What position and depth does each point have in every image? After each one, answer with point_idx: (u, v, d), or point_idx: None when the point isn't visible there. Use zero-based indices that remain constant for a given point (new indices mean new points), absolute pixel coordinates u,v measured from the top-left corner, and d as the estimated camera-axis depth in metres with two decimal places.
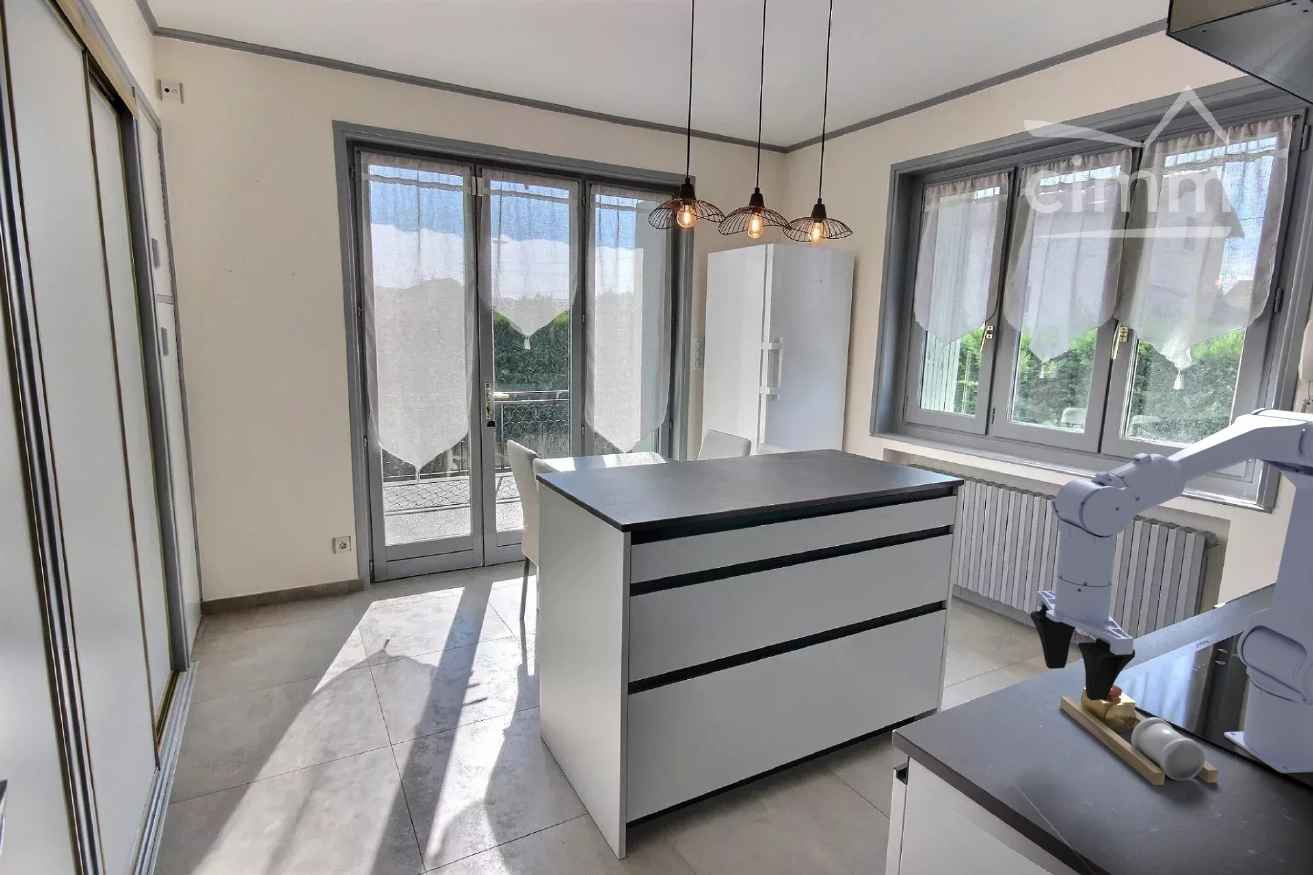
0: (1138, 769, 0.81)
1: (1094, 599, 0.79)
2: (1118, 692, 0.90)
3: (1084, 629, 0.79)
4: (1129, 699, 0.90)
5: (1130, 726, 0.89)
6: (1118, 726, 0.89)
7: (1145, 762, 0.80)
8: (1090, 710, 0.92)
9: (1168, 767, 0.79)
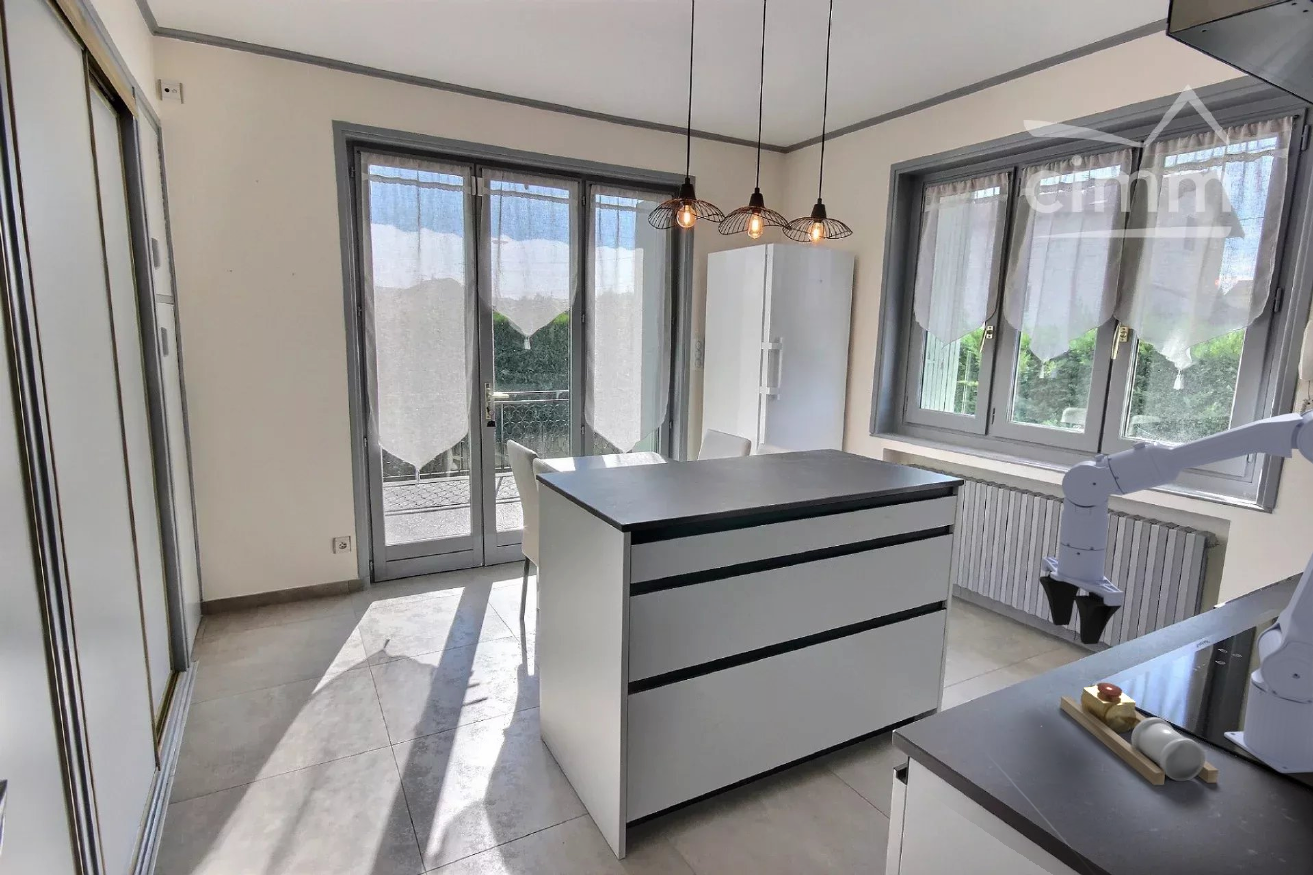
0: (1138, 769, 0.81)
1: (1090, 560, 0.93)
2: (1118, 692, 0.90)
3: (1082, 586, 0.93)
4: (1129, 699, 0.90)
5: (1130, 726, 0.89)
6: (1118, 726, 0.89)
7: (1145, 762, 0.80)
8: (1090, 710, 0.92)
9: (1168, 767, 0.79)
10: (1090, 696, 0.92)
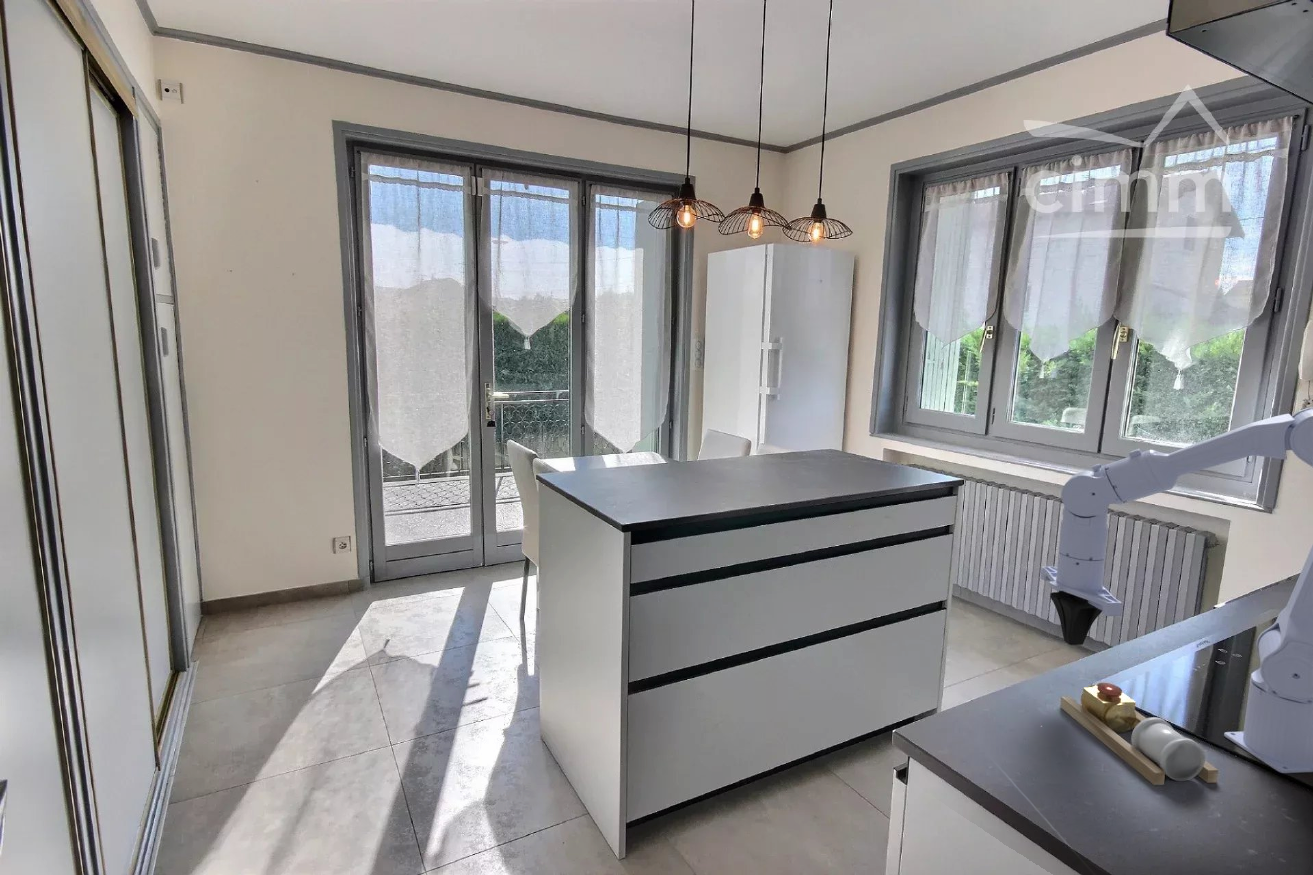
0: (1138, 769, 0.81)
1: (1089, 571, 0.94)
2: (1118, 692, 0.90)
3: (1081, 596, 0.93)
4: (1129, 699, 0.90)
5: (1130, 726, 0.89)
6: (1118, 726, 0.89)
7: (1145, 762, 0.80)
8: (1090, 710, 0.92)
9: (1168, 767, 0.79)
10: (1090, 696, 0.92)
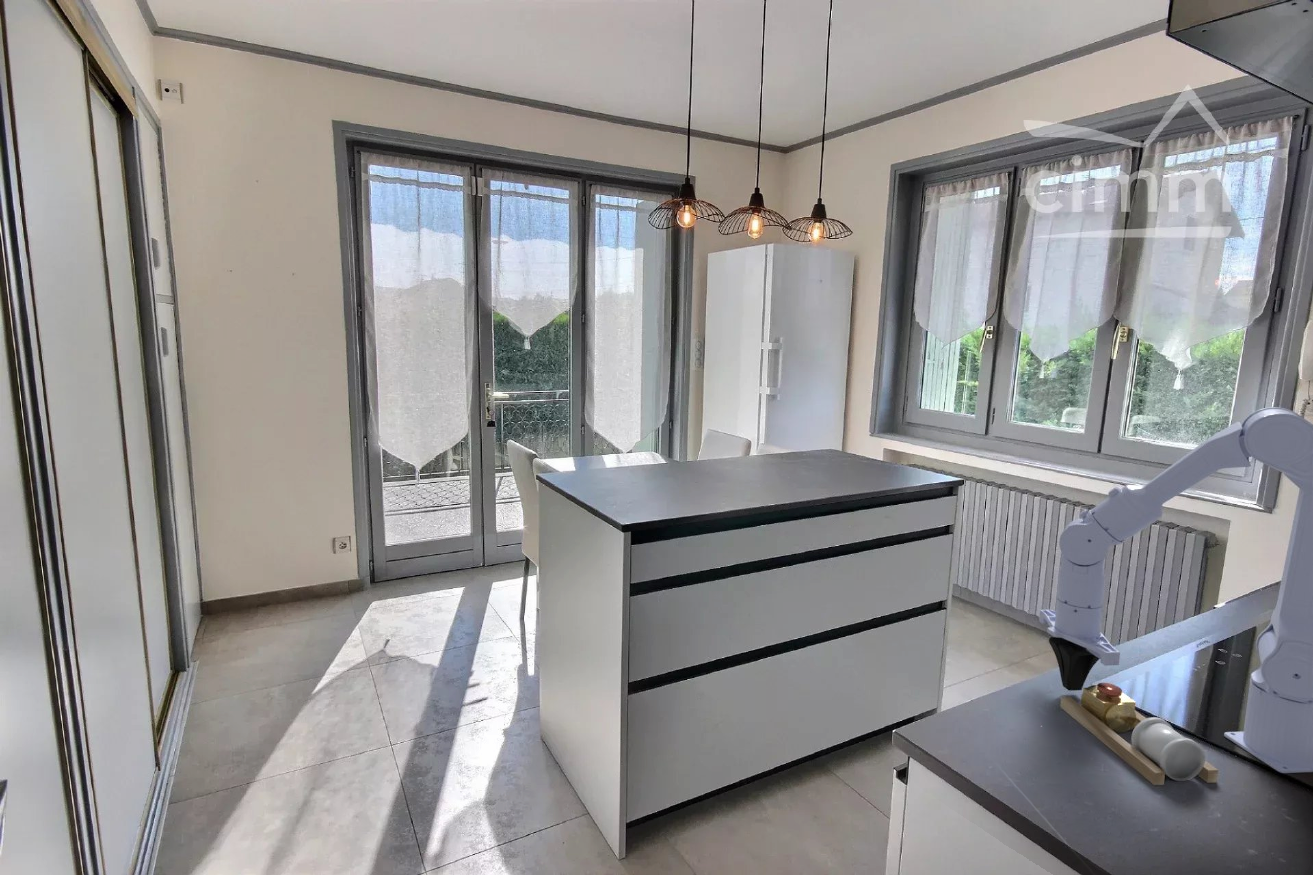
0: (1138, 769, 0.81)
1: (1087, 618, 0.94)
2: (1118, 692, 0.90)
3: (1079, 644, 0.94)
4: (1129, 699, 0.90)
5: (1130, 726, 0.89)
6: (1118, 726, 0.89)
7: (1145, 762, 0.80)
8: (1090, 710, 0.92)
9: (1168, 767, 0.79)
10: (1090, 696, 0.92)
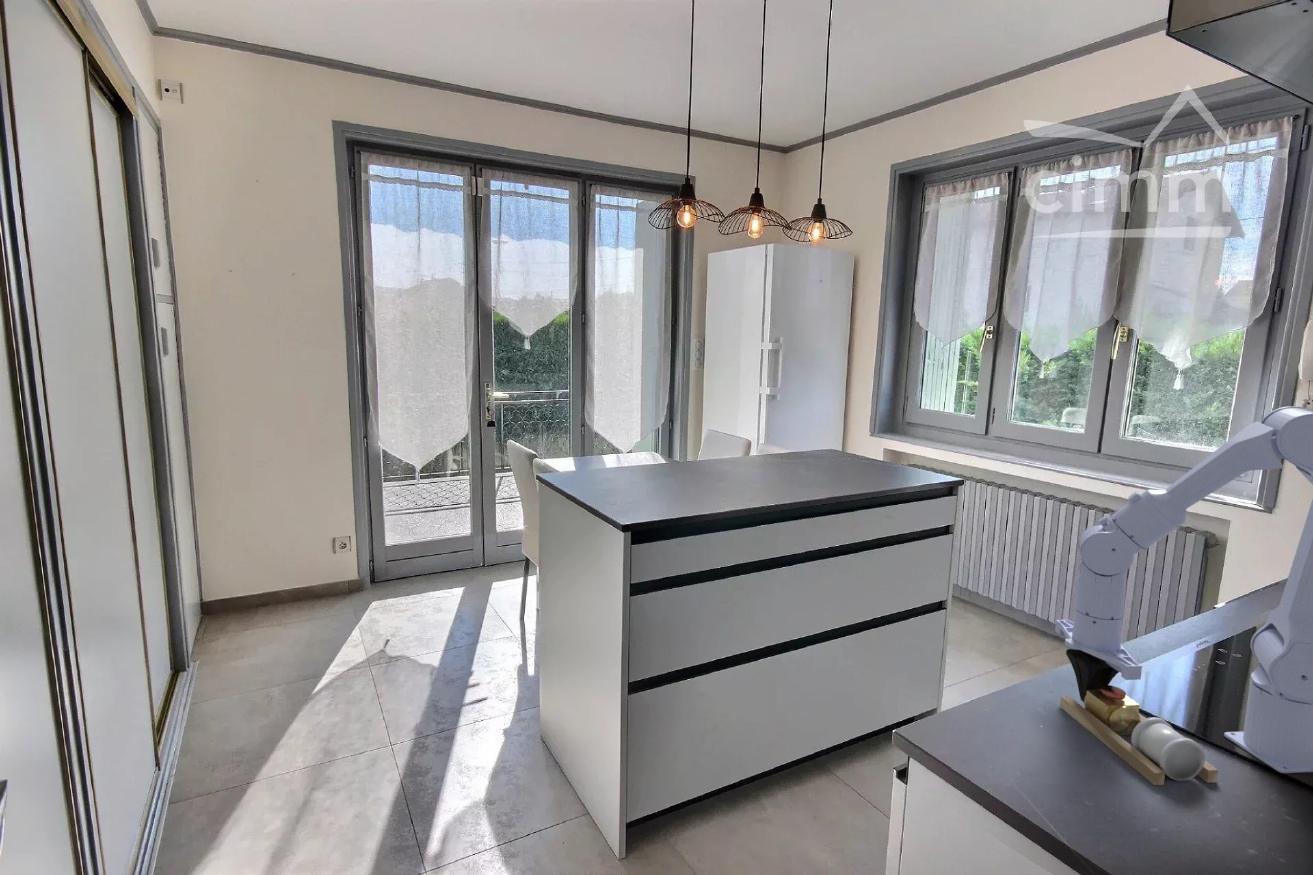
0: (1138, 769, 0.81)
1: (1107, 630, 0.90)
2: (1121, 695, 0.89)
3: (1098, 656, 0.90)
4: (1133, 702, 0.89)
5: None
6: (1122, 729, 0.88)
7: (1145, 762, 0.80)
8: (1093, 713, 0.91)
9: (1168, 767, 0.79)
10: (1093, 699, 0.91)
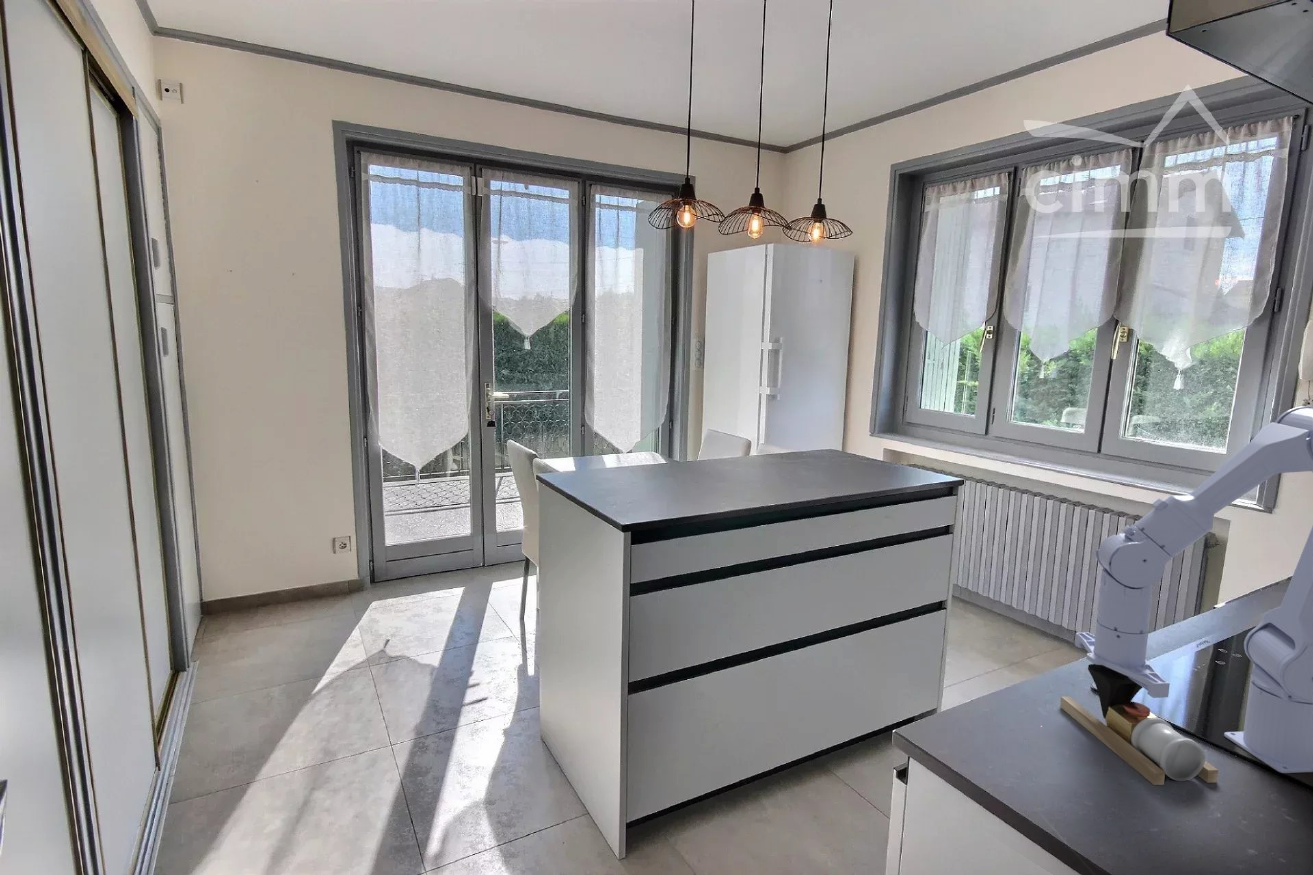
0: (1138, 769, 0.81)
1: (1132, 645, 0.86)
2: (1146, 712, 0.85)
3: (1123, 672, 0.86)
4: None
5: None
6: None
7: (1145, 762, 0.80)
8: (1116, 730, 0.87)
9: (1168, 767, 0.79)
10: (1116, 716, 0.87)
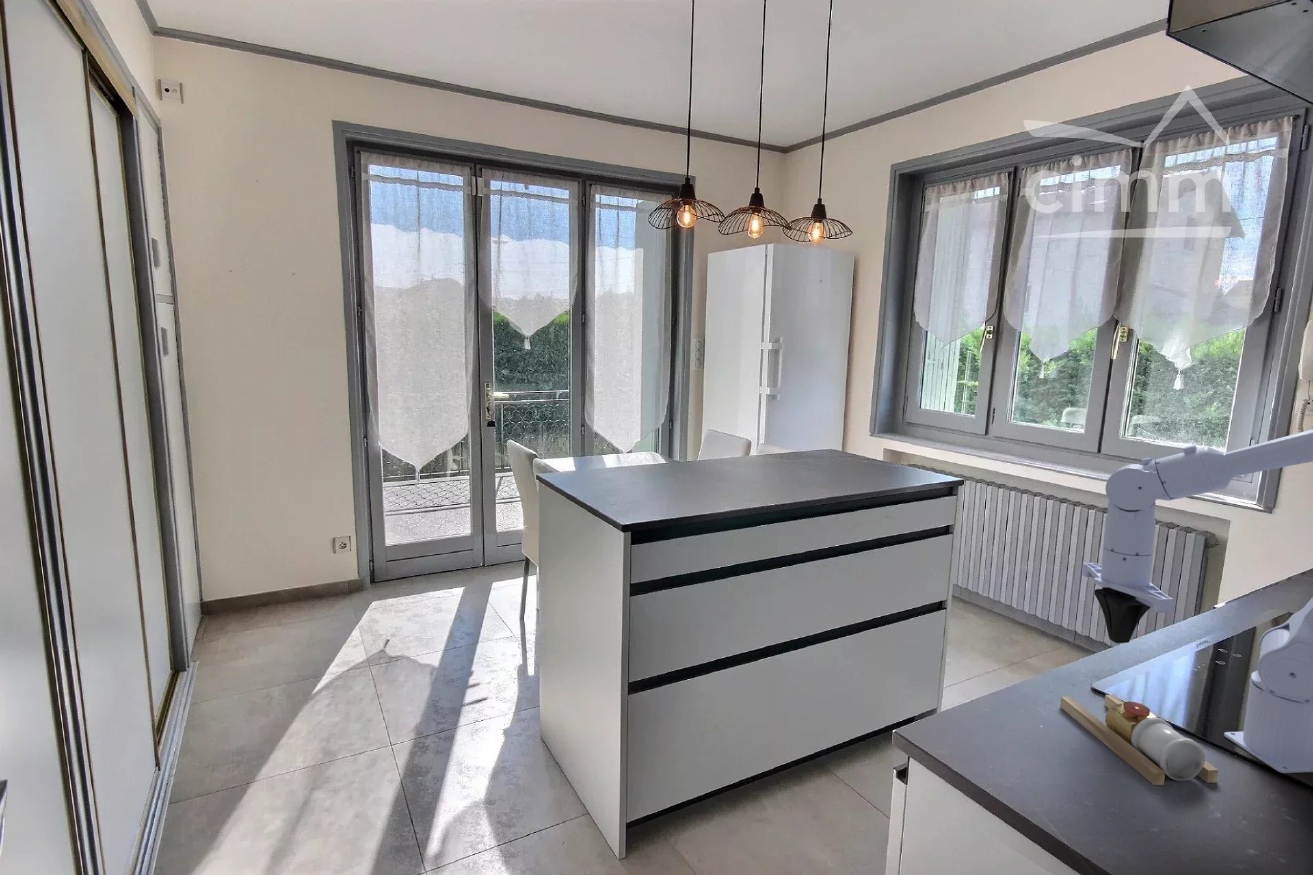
0: (1138, 769, 0.81)
1: (1137, 566, 0.91)
2: (1146, 712, 0.85)
3: (1129, 592, 0.91)
4: None
5: None
6: None
7: (1145, 762, 0.80)
8: (1116, 731, 0.87)
9: (1168, 767, 0.79)
10: (1116, 716, 0.87)
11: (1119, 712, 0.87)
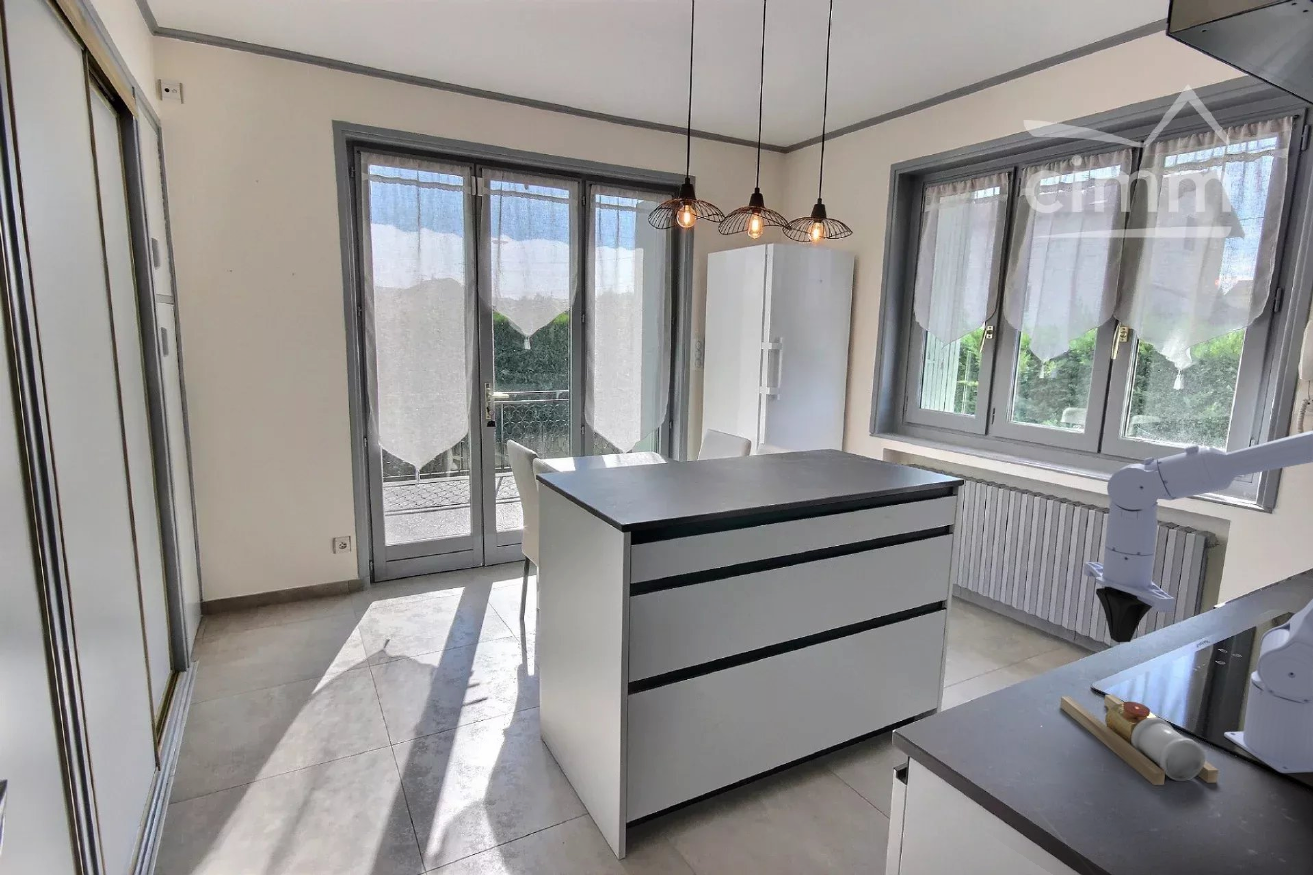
0: (1138, 769, 0.81)
1: (1139, 566, 0.91)
2: (1146, 712, 0.85)
3: (1130, 592, 0.91)
4: None
5: None
6: None
7: (1145, 762, 0.80)
8: (1116, 731, 0.87)
9: (1168, 767, 0.79)
10: (1116, 716, 0.87)
11: (1119, 712, 0.87)
